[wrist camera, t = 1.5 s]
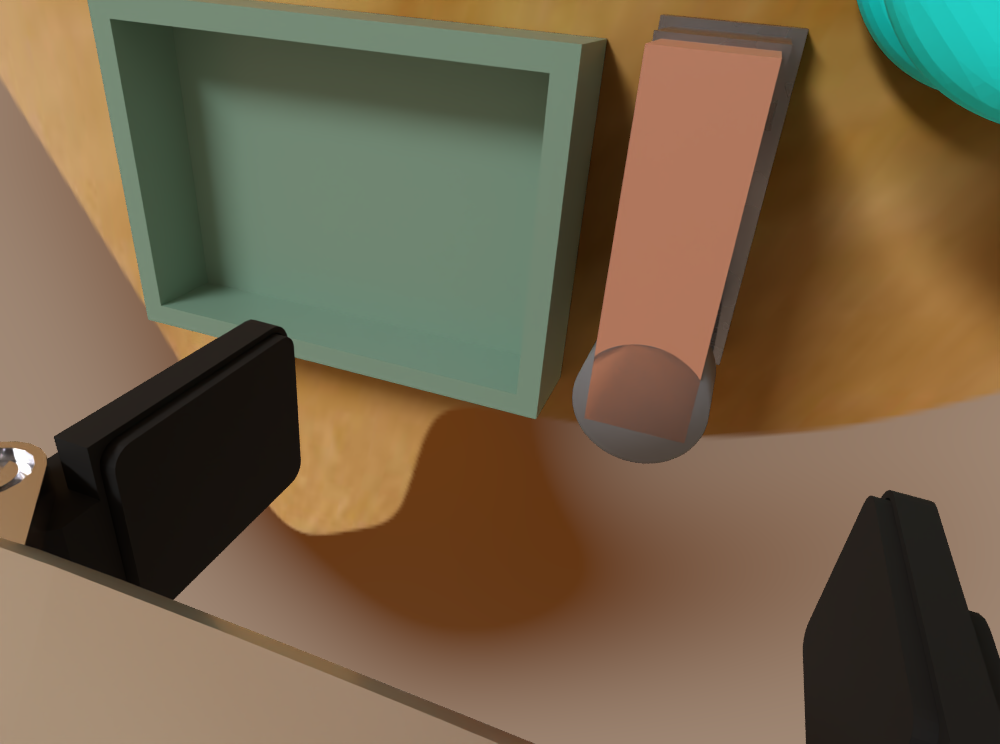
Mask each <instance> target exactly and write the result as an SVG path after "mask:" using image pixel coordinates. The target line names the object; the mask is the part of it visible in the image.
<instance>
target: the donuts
mask: <svg viewBox="0 0 1000 744" xmlns="http://www.w3.org/2000/svg"><path fill="white" fill-rule="evenodd" d="M857 3H858V6H859V10H860V13H861V15H862V18H863V20H864V23H865V25H866V27H867V29H868V31H869V33H870V34H871V36H872V38H873V39H874V41H875V42H876V44H877V45H878V46H879V48H880V49H881V50H882V52H883V53H884V54H885V55H886V56H887V57H888V58H889V59H890V60H891V61H892V62H893V63H894V64H895V65H896V66H897V67H899V68H900V69H901V70H902V71H904V72H905V73H906V74H908V75H909V76H911V77H912V78H914V79H916V80H917V81H919V82H921V83H923V84H925V85H927V86H929V87H931V88H933V89H936V90H939V91H940V92H941V93H942V94H943V95H945V96H946V97H948V98H949V99H951V100H952V101H953V102H955V103H956V104H958V105H960V106H962V107H963V108H965V109H967V110H969V111H971V112H973V113H975V114H977V115H979V116H981V117H983V118H985V119H988V120H990V121H993V122H996V123H999V124H1000V0H857Z"/></svg>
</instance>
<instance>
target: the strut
mask: <svg viewBox="0 0 1000 744" xmlns="http://www.w3.org/2000/svg"><path fill="white" fill-rule="evenodd" d="M781 60H782V51H773V50H764V49H755V48H745V47H736V46H726V45H717V44H708V43H698V42H689V41H679V40H670V39H658V40H655V41H652V42H649V43H646V44H645V49H644V55H643V61H642V68H641V74H640V80H639V86H638V92H637V98H636V104H635V110H634V117H633V123H632V129H631V135H630V141H629V147H628V153H627V159H626V166H625V172H624V178H623V184H622V190H621V196H620V202H619V208H618V215H617V221H616V227H615V233H614V239H613V245H612V251H611V258H610V264H609V270H608V276H607V282H606V288H605V294H604V300H603V307H602V313H601V319H600V325H599V331H598V337H597V340H596V342H595V344H594V346H593V348H592V350H591V351H590V353H589V355H588V357H587V359H586V361H585V363H584V364H583V366H582V368H581V370H580V372H579V374H578V376H577V378H576V380H575V383H574V387H573V395H572V401H573V409H574V413H575V416H576V418H577V421H578V423H579V425H580V427H581V428H582V430H583V431H584V433H585V434H586V435H587V436H588V437H589V438H590V440H591V441H593V442H594V443H595V444H596V445H597V446H598V447H600V448H601V449H602V450H604V451H606V452H607V453H609V454H611V455H613V456H615V457H618V458H620V459H623V460H626V461H630V462H635V463H660V462H665V461H669V460H671V459H674V458H677V457H679V456H681V455H682V454H684V453H686V452H687V451H688V450H690V449H691V448H692V447H693V446H694V445H695V444H696V443H697V442H698V441H699V439H700V438H701V436H702V435H703V433H704V431H705V428H706V426H707V423H708V417H709V411H710V406H711V400H712V394H713V388H714V382H715V376H716V363H715V357H714V354H713V351H712V349H711V346H710V340H711V337H712V333H713V329H714V325H715V321H716V317H717V313H718V309H719V305H720V301H721V297H722V293H723V289H724V285H725V281H726V277H727V273H728V269H729V266H730V262H731V258H732V254H733V250H734V246H735V242H736V238H737V234H738V230H739V226H740V222H741V218H742V214H743V210H744V206H745V202H746V198H747V194H748V191H749V187H750V183H751V179H752V175H753V171H754V167H755V163H756V159H757V155H758V151H759V147H760V143H761V139H762V135H763V131H764V127H765V123H766V120H767V116H768V112H769V108H770V104H771V100H772V96H773V92H774V88H775V84H776V80H777V76H778V72H779V68H780V64H781Z"/></svg>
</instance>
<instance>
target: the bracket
mask: <svg viewBox="0 0 1000 744" xmlns="http://www.w3.org/2000/svg"><path fill="white" fill-rule="evenodd" d="M808 30H809V29H808V28H798V27H787V26H777V25H767V24H757V23H746V22H736V21H726V20H716V19H705V18H695V17H685V16H674V15H661V16H660V22H659V28H658V30H654V35H653V41H655V40H658V39H670V40H679V41H689V42H698V43H708V44H717V45H726V46H736V47H745V48H755V49H764V50H773V51H782V60H781V64H780V68H779V72H778V76H777V80H776V84H775V88H774V92H773V96H772V100H771V104H770V108H769V112H768V116H767V120H766V123H765V127H764V131H763V135H762V139H761V143H760V147H759V151H758V155H757V159H756V163H755V167H754V171H753V175H752V179H751V183H750V187H749V191H748V194H747V198H746V202H745V206H744V210H743V214H742V218H741V222H740V226H739V230H738V234H737V238H736V242H735V246H734V250H733V254H732V258H731V262H730V266H729V269H728V273H727V277H726V281H725V285H724V289H723V293H722V297H721V301H720V305H719V309H718V313H717V317H716V321H715V325H714V329H713V333H712V337H711V340H710V346H711V349H712V351H713V354H714V357H715V363H716V364H717V365H720V361H721V357H722V353H723V349H724V346H725V342H726V338H727V334H728V331H729V327H730V323H731V319H732V316H733V312H734V308H735V304H736V301H737V297H738V293H739V289H740V285H741V282H742V278H743V274H744V270H745V267H746V263H747V259H748V255H749V252H750V248H751V244H752V240H753V237H754V233H755V229H756V225H757V221H758V218H759V214H760V210H761V206H762V203H763V199H764V195H765V191H766V188H767V184H768V180H769V176H770V173H771V169H772V165H773V161H774V158H775V154H776V150H777V146H778V142H779V139H780V135H781V131H782V127H783V124H784V120H785V116H786V112H787V109H788V105H789V101H790V97H791V94H792V90H793V86H794V82H795V78H796V75H797V71H798V67H799V63H800V60H801V56H802V52H803V48H804V45H805V41H806V37H807V33H808Z"/></svg>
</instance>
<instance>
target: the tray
mask: <svg viewBox="0 0 1000 744" xmlns="http://www.w3.org/2000/svg"><path fill="white" fill-rule="evenodd" d="M88 6H89V11H90V16H91V21H92V27H93V32H94V37H95V42H96V48H97V53H98V58H99V63H100V69H101V74H102V79H103V84H104V90H105V95H106V100H107V105H108V111H109V116H110V121H111V126H112V132H113V137H114V142H115V147H116V153H117V158H118V163H119V168H120V174H121V179H122V184H123V189H124V195H125V200H126V205H127V210H128V216H129V221H130V226H131V231H132V237H133V242H134V247H135V252H136V258H137V263H138V268H139V273H140V279H141V284H142V289H143V294H144V300H145V305H146V310H147V315H148V319H149V320H152V321H156V322H160V323H164V324H168V325H171V326H175V327H179V328H183V329H187V330H191V331H195V332H199V333H202V334H206V335H210V336H214V337H218V338H219V337H220V336H222V335H224V334H225V333H227V332H229V331H230V330H232V329H233V328H235V327H237V326H238V325H240V324H242V323H243V322H245V321H247V320H250V319H252V320H258V321H261V322H265V323H269V324H272V325H276V326H280V327H282V328H283V329H285V331H286V333H287V337H289V338H290V339H292V341H293V344H294V354H295V357H296V358H300V359H303V360H307V361H311V362H315V363H319V364H323V365H327V366H331V367H335V368H338V369H342V370H346V371H350V372H354V373H358V374H362V375H366V376H370V377H373V378H377V379H381V380H385V381H389V382H393V383H397V384H401V385H404V386H408V387H412V388H416V389H420V390H424V391H428V392H432V393H436V394H439V395H443V396H447V397H451V398H455V399H459V400H463V401H467V402H471V403H474V404H478V405H482V406H486V407H490V408H494V409H498V410H502V411H506V412H509V413H513V414H517V415H521V416H525V417H529V418H533V419H537V417H538V415H539V413H540V412H541V410H542V408H543V406H544V405H545V403H546V401H547V400H548V398H549V396H550V394H551V393H552V391H553V389H554V387H555V386H556V384H557V382H558V381H559V379H560V377H561V369H562V362H563V355H564V348H565V340H566V333H567V326H568V319H569V311H570V304H571V297H572V290H573V282H574V275H575V268H576V261H577V253H578V246H579V239H580V232H581V225H582V217H583V210H584V203H585V196H586V188H587V181H588V174H589V167H590V159H591V152H592V145H593V138H594V130H595V123H596V116H597V109H598V101H599V94H600V87H601V80H602V72H603V65H604V58H605V51H606V44H607V39H605V38H596V37H587V36H577V35H568V34H559V33H550V32H540V31H531V30H522V29H513V28H504V27H494V26H485V25H476V24H467V23H457V22H448V21H439V20H430V19H421V18H411V17H402V16H393V15H384V14H374V13H365V12H356V11H347V10H338V9H328V8H319V7H310V6H301V5H291V4H282V3H273V2H264V1H255V0H88Z"/></svg>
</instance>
